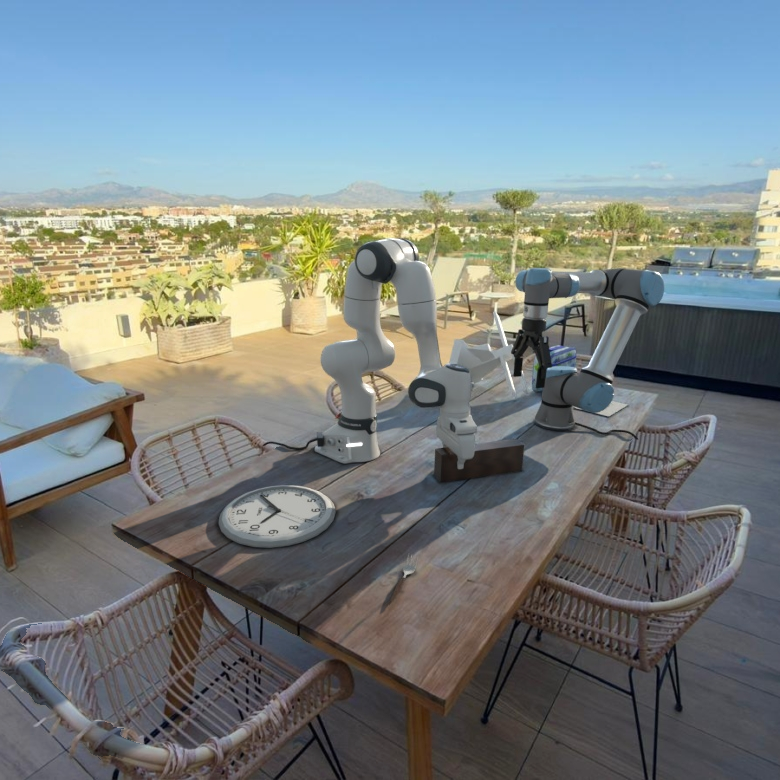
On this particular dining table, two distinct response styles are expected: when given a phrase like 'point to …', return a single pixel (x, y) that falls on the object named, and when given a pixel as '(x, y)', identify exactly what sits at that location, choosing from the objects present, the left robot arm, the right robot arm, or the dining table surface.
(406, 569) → the fork
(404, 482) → the dining table surface
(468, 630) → the dining table surface
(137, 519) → the dining table surface
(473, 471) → the walnut beam
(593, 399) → the right robot arm
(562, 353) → the lunch box
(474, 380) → the white plastic object
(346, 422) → the left robot arm
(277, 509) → the wall clock
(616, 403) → the invitation card
